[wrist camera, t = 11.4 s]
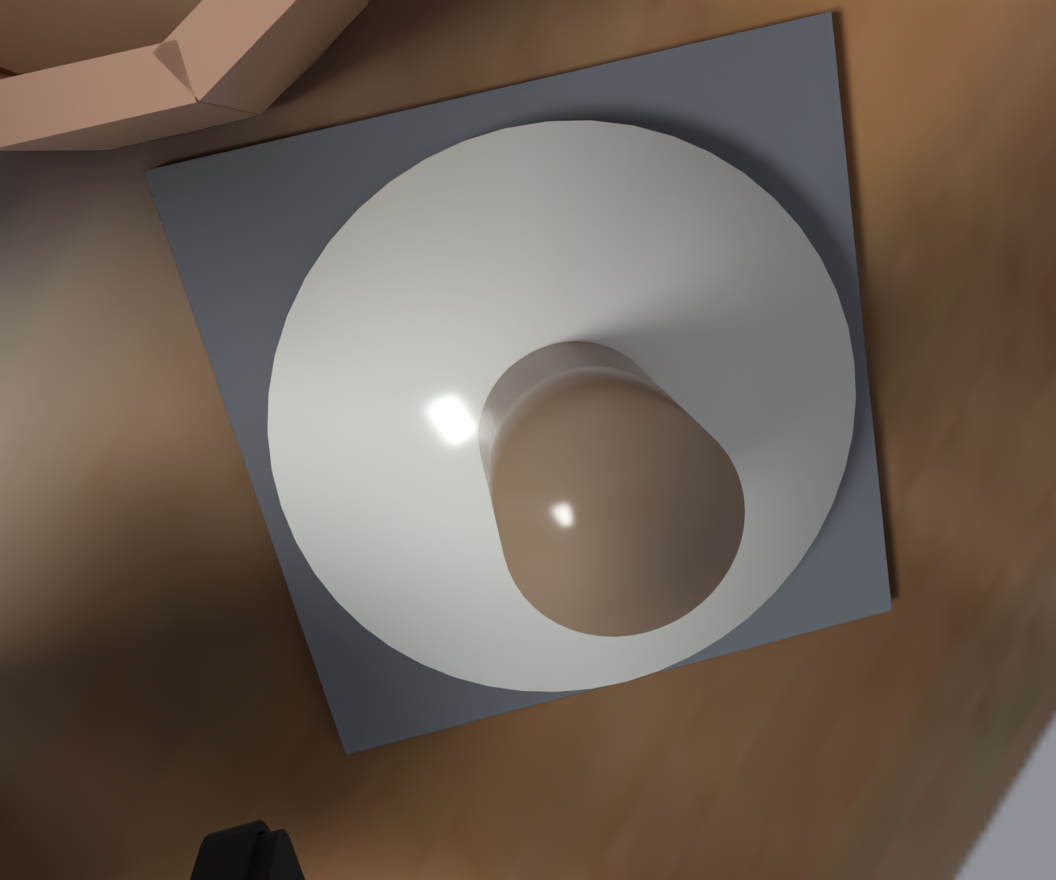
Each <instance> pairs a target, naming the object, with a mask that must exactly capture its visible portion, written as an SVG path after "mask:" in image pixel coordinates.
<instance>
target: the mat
mask: <svg viewBox="0 0 1056 880" xmlns="http://www.w3.org/2000/svg"><path fill="white" fill-rule="evenodd" d="M585 120H592V121H600V122H609V123H617V124H625V125H633V126H637V127H641V128H644V129H648V130H652V131H655V132H659V133H663V134H667V135H670V136H674V137H676V138H678V139H681V140H683V141H685V142H688V143H690V144H692V145H695V146H697V147H699V148H701V149H704V150H706V151H708V152H711V153H712V154H714V155H715V156H717V157H719V158H720V159H722V160H724V161H725V162H727V163H729V164H730V165H732V166H733V167H735V168H737V169H738V170H740V171H742V172H743V173H745V174H746V175H747V176H748V177H749V178H751V179H752V180H753V181H754V182H755V183H757V184H758V185H759V186H760V187H761V188H763V189H764V190H765V191H766V192H767V193H769V194H770V195H771V196H772V197H773V198H774V199H775V200H776V201H777V202H778V203H779V204H780V205H781V206H782V207H783V209H784V210H785V211H786V212H787V213H788V214H789V215H790V216H791V217H792V219H793V220H794V221H795V222H796V223H797V224H798V225H799V226H800V228H801V229H802V231H803V232H804V234H805V235H806V237H807V238H808V240H809V241H810V243H811V244H812V246H813V247H814V249H815V250H816V252H817V253H818V255H819V256H820V258H821V260H822V262H823V264H824V266H825V268H826V270H827V272H828V274H829V276H830V278H831V280H832V282H833V285H834V287H835V289H836V291H837V293H838V297H839V300H840V303H841V306H842V309H843V312H844V315H845V319H846V322H847V325H848V329H849V335H850V340H851V346H852V352H853V358H854V364H855V390H856V403H855V414H854V425H853V435H852V440H851V444H850V449H849V453H848V458H847V463H846V467H845V471H844V474H843V477H842V479H841V482H840V485H839V488H838V491H837V494H836V496H835V499H834V502H833V504H832V507H831V509H830V511H829V513H828V515H827V517H826V519H825V521H824V523H823V525H822V527H821V529H820V531H819V533H818V535H817V536H816V538H815V539H814V541H813V543H812V544H811V546H810V547H809V549H808V550H807V552H806V553H805V555H804V556H803V558H802V559H801V561H800V562H799V564H798V565H797V567H796V568H795V569H794V570H793V571H792V573H791V574H790V575H789V576H788V577H787V579H786V580H785V581H784V582H783V583H782V585H781V586H780V587H779V588H778V589H777V591H776V592H775V593H774V594H773V595H772V596H771V597H770V598H769V599H768V600H767V601H765V602H764V603H763V604H762V605H761V606H760V607H759V608H758V609H757V610H756V611H755V612H754V613H753V614H752V615H751V616H750V617H749V618H747V619H746V620H745V621H743V622H742V623H741V624H739V625H738V626H737V627H735V628H734V629H733V630H731V631H730V632H729V633H727V634H726V635H725V636H724V637H722V638H721V639H719V640H717V641H716V642H714V643H712V644H711V645H709V646H707V647H706V648H704V649H702V650H701V651H699V652H697V653H696V654H694V655H692V656H690V657H688V658H686V659H684V660H682V661H679V662H677V663H675V664H673V665H671V666H668V667H666V668H664V669H662V670H660V671H657V672H661V671H664V670H668V669H672V668H676V667H679V666H683V665H687V664H691V663H695V662H698V661H702V660H706V659H710V658H713V657H717V656H721V655H725V654H728V653H732V652H736V651H740V650H743V649H747V648H751V647H755V646H758V645H762V644H766V643H770V642H774V641H777V640H781V639H785V638H789V637H792V636H796V635H800V634H804V633H807V632H811V631H815V630H819V629H822V628H826V627H830V626H834V625H837V624H841V623H845V622H849V621H852V620H856V619H860V618H864V617H868V616H871V615H875V614H879V613H883V612H886V611H890V610H892V608H891V598H890V588H889V578H888V568H887V558H886V548H885V539H884V529H883V519H882V509H881V499H880V489H879V479H878V469H877V459H876V449H875V439H874V429H873V419H872V409H871V400H870V390H869V380H868V370H867V360H866V350H865V340H864V330H863V320H862V310H861V300H860V290H859V280H858V270H857V260H856V251H855V241H854V231H853V221H852V211H851V201H850V191H849V181H848V171H847V161H846V151H845V141H844V131H843V121H842V112H841V102H840V92H839V82H838V72H837V62H836V52H835V42H834V32H833V22H832V12H827V13H823V14H818V15H814V16H810V17H805V18H801V19H797V20H792V21H788V22H784V23H779V24H775V25H771V26H767V27H762V28H758V29H754V30H749V31H745V32H741V33H736V34H732V35H728V36H723V37H719V38H715V39H711V40H706V41H702V42H698V43H693V44H689V45H685V46H680V47H676V48H672V49H667V50H663V51H659V52H654V53H650V54H646V55H642V56H637V57H633V58H629V59H624V60H620V61H616V62H611V63H607V64H603V65H598V66H594V67H590V68H586V69H581V70H577V71H573V72H568V73H564V74H560V75H555V76H551V77H547V78H542V79H538V80H534V81H529V82H525V83H521V84H517V85H512V86H508V87H504V88H499V89H495V90H491V91H486V92H482V93H478V94H473V95H469V96H465V97H461V98H456V99H452V100H448V101H443V102H439V103H435V104H430V105H426V106H422V107H417V108H413V109H409V110H404V111H400V112H396V113H392V114H387V115H383V116H379V117H374V118H370V119H366V120H361V121H357V122H353V123H348V124H344V125H340V126H335V127H331V128H327V129H323V130H318V131H314V132H310V133H305V134H301V135H297V136H292V137H288V138H284V139H279V140H275V141H271V142H267V143H262V144H258V145H254V146H249V147H245V148H241V149H236V150H232V151H228V152H223V153H219V154H215V155H210V156H206V157H202V158H198V159H193V160H189V161H185V162H180V163H176V164H172V165H167V166H163V167H159V168H154V169H150V170H146V171H144V173H145V176H146V179H147V181H148V184H149V187H150V190H151V193H152V196H153V199H154V202H155V205H156V207H157V210H158V213H159V216H160V219H161V222H162V225H163V228H164V231H165V234H166V236H167V239H168V242H169V245H170V248H171V251H172V254H173V257H174V260H175V262H176V265H177V268H178V271H179V274H180V277H181V280H182V283H183V286H184V288H185V291H186V294H187V297H188V300H189V303H190V306H191V309H192V312H193V314H194V317H195V320H196V323H197V326H198V329H199V332H200V335H201V338H202V340H203V343H204V346H205V349H206V352H207V355H208V358H209V361H210V364H211V366H212V369H213V372H214V375H215V378H216V381H217V384H218V387H219V390H220V392H221V395H222V398H223V401H224V404H225V407H226V410H227V413H228V416H229V419H230V421H231V424H232V427H233V430H234V433H235V436H236V439H237V442H238V445H239V447H240V450H241V453H242V456H243V459H244V462H245V465H246V468H247V471H248V473H249V476H250V479H251V482H252V485H253V488H254V491H255V494H256V497H257V499H258V502H259V505H260V508H261V511H262V514H263V517H264V520H265V523H266V525H267V528H268V531H269V534H270V537H271V540H272V543H273V546H274V549H275V551H276V554H277V557H278V560H279V563H280V566H281V569H282V572H283V575H284V578H285V580H286V583H287V586H288V589H289V592H290V595H291V598H292V601H293V604H294V606H295V609H296V612H297V615H298V618H299V621H300V624H301V627H302V630H303V632H304V635H305V638H306V641H307V644H308V647H309V650H310V653H311V656H312V658H313V661H314V664H315V667H316V670H317V673H318V676H319V679H320V682H321V684H322V687H323V690H324V693H325V696H326V699H327V702H328V705H329V708H330V710H331V713H332V716H333V719H334V722H335V725H336V728H337V731H338V734H339V736H340V739H341V742H342V745H343V748H344V751H345V754H346V755H349V754H352V753H356V752H360V751H364V750H367V749H371V748H375V747H379V746H382V745H386V744H390V743H394V742H397V741H401V740H405V739H409V738H413V737H416V736H420V735H424V734H428V733H431V732H435V731H439V730H443V729H446V728H450V727H454V726H458V725H461V724H465V723H469V722H473V721H476V720H480V719H484V718H488V717H491V716H495V715H499V714H503V713H507V712H510V711H514V710H518V709H522V708H525V707H529V706H533V705H537V704H540V703H544V702H548V701H552V700H555V699H559V698H563V697H567V696H570V695H574V694H578V693H582V692H585V691H589V690H593V689H597V688H601V687H597V688H592V689H582V690H571V691H560V692H545V691H519V690H512V689H505V688H498V687H491V686H486V685H482V684H478V683H474V682H471V681H467V680H463V679H459V678H456V677H453V676H450V675H448V674H445V673H443V672H440V671H438V670H435V669H433V668H430V667H428V666H425V665H423V664H421V663H419V662H417V661H415V660H413V659H412V658H410V657H408V656H406V655H404V654H403V653H401V652H399V651H397V650H396V649H394V648H392V647H390V646H389V645H388V644H386V643H385V642H383V641H382V640H381V639H379V638H378V637H377V636H375V635H374V634H373V633H371V632H370V631H369V630H367V629H366V628H365V627H363V626H362V625H361V624H360V623H359V622H358V621H357V620H356V619H355V618H354V617H353V616H352V615H351V614H349V613H348V612H347V611H346V610H345V609H344V608H343V607H342V606H341V605H340V604H339V603H338V602H337V601H336V600H335V598H334V597H333V596H332V595H331V593H330V592H329V591H328V590H327V588H326V587H325V586H324V585H323V583H322V582H321V581H320V579H319V578H318V577H317V576H316V574H315V573H314V572H313V570H312V568H311V567H310V565H309V563H308V561H307V560H306V558H305V556H304V555H303V553H302V551H301V550H300V548H299V546H298V544H297V543H296V541H295V539H294V536H293V534H292V531H291V529H290V527H289V524H288V522H287V519H286V517H285V515H284V512H283V510H282V507H281V504H280V500H279V496H278V492H277V488H276V485H275V481H274V477H273V473H272V467H271V459H270V450H269V441H268V433H267V432H268V393H269V388H270V382H271V376H272V370H273V364H274V358H275V353H276V350H277V347H278V343H279V340H280V337H281V334H282V331H283V328H284V324H285V321H286V318H287V315H288V313H289V311H290V309H291V307H292V305H293V303H294V300H295V298H296V296H297V294H298V292H299V290H300V288H301V286H302V284H303V282H304V279H305V278H306V276H307V275H308V273H309V272H310V270H311V268H312V267H313V265H314V264H315V262H316V261H317V259H318V258H319V256H320V255H321V253H322V252H323V250H324V249H325V247H326V246H327V244H328V243H329V242H330V240H331V239H332V238H333V237H334V236H335V235H336V233H337V232H338V231H339V230H340V229H341V228H342V227H343V226H344V224H345V223H346V222H347V221H348V220H349V219H350V218H351V216H352V215H353V214H354V213H355V212H356V211H357V210H358V208H359V207H361V206H362V205H363V204H364V203H365V202H366V201H368V200H369V199H370V198H371V197H372V196H373V195H374V194H376V193H377V192H378V191H379V190H380V189H381V188H383V187H384V186H385V185H386V184H387V183H388V182H390V181H391V180H392V179H394V178H396V177H397V176H399V175H400V174H402V173H403V172H405V171H406V170H408V169H409V168H411V167H413V166H414V165H416V164H417V163H419V162H420V161H422V160H423V159H425V158H427V157H429V156H431V155H434V154H436V153H438V152H440V151H442V150H444V149H446V148H448V147H451V146H453V145H455V144H457V143H459V142H461V141H464V140H467V139H471V138H474V137H477V136H480V135H484V134H487V133H490V132H493V131H497V130H500V129H504V128H510V127H516V126H523V125H529V124H535V123H541V122H547V121H585ZM657 672H654V673H657ZM651 674H653V673H651ZM648 675H649V674H648ZM645 676H646V675H645ZM607 686H608V685H607ZM602 687H604V686H602Z"/></svg>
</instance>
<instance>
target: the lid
mask: <svg viewBox="0 0 1056 880" xmlns="http://www.w3.org/2000/svg"><path fill="white" fill-rule="evenodd" d="M855 403H856V390H855V364H854V358H853V352H852V346H851V340H850V335H849V329H848V325H847V322H846V319H845V315H844V312H843V309H842V306H841V303H840V300H839V297H838V293H837V291H836V289H835V287H834V285H833V282H832V280H831V278H830V276H829V274H828V272H827V270H826V268H825V266H824V264H823V262H822V260H821V258H820V256H819V255H818V253H817V252H816V250H815V249H814V247H813V246H812V244H811V243H810V241H809V240H808V238H807V237H806V235H805V234H804V232H803V231H802V229H801V228H800V226H799V225H798V224H797V223H796V222H795V221H794V220H793V219H792V217H791V216H790V215H789V214H788V213H787V212H786V211H785V210H784V209H783V207H782V206H781V205H780V204H779V203H778V202H777V201H776V200H775V199H774V198H773V197H772V196H771V195H770V194H769V193H767V192H766V191H765V190H764V189H763V188H761V187H760V186H759V185H758V184H757V183H755V182H754V181H753V180H752V179H751V178H749V177H748V176H747V175H746V174H745V173H743V172H742V171H740V170H738V169H737V168H735V167H733V166H732V165H730V164H729V163H727V162H725V161H724V160H722V159H720V158H719V157H717V156H715V155H714V154H712V153H711V152H708V151H706V150H704V149H701V148H699V147H697V146H695V145H692V144H690V143H688V142H685V141H683V140H681V139H678V138H676V137H674V136H670V135H667V134H663V133H659V132H655V131H652V130H648V129H644V128H641V127H637V126H633V125H625V124H617V123H609V122H600V121H592V120H585V121H547V122H541V123H535V124H529V125H523V126H516V127H510V128H504V129H500V130H497V131H493V132H490V133H487V134H484V135H480V136H477V137H474V138H471V139H467V140H464V141H461V142H459V143H457V144H455V145H453V146H451V147H448V148H446V149H444V150H442V151H440V152H438V153H436V154H434V155H431V156H429V157H427V158H425V159H423V160H422V161H420V162H419V163H417V164H416V165H414V166H413V167H411V168H409V169H408V170H406V171H405V172H403V173H402V174H400V175H399V176H397V177H396V178H394V179H392V180H391V181H390V182H388V183H387V184H386V185H385V186H384V187H383V188H381V189H380V190H379V191H378V192H377V193H376V194H374V195H373V196H372V197H371V198H370V199H369V200H368V201H366V202H365V203H364V204H363V205H362V206H361V207H359V208H358V210H357V211H356V212H355V213H354V214H353V215H352V216H351V218H350V219H349V220H348V221H347V222H346V223H345V224H344V226H343V227H342V228H341V229H340V230H339V231H338V232H337V233H336V235H335V236H334V237H333V238H332V239H331V240H330V242H329V243H328V244H327V246H326V247H325V249H324V250H323V252H322V253H321V255H320V256H319V258H318V259H317V261H316V262H315V264H314V265H313V267H312V268H311V270H310V272H309V273H308V275H307V276H306V278H305V279H304V282H303V284H302V286H301V288H300V290H299V292H298V294H297V296H296V298H295V300H294V303H293V305H292V307H291V309H290V311H289V313H288V315H287V318H286V321H285V324H284V328H283V331H282V334H281V337H280V340H279V343H278V347H277V350H276V353H275V358H274V364H273V370H272V376H271V382H270V388H269V393H268V432H267V433H268V441H269V450H270V459H271V467H272V473H273V477H274V481H275V485H276V488H277V492H278V496H279V500H280V504H281V507H282V510H283V512H284V515H285V517H286V519H287V522H288V524H289V527H290V529H291V531H292V534H293V536H294V539H295V541H296V543H297V544H298V546H299V548H300V550H301V551H302V553H303V555H304V556H305V558H306V560H307V561H308V563H309V565H310V567H311V568H312V570H313V572H314V573H315V574H316V576H317V577H318V578H319V579H320V581H321V582H322V583H323V585H324V586H325V587H326V588H327V590H328V591H329V592H330V593H331V595H332V596H333V597H334V598H335V600H336V601H337V602H338V603H339V604H340V605H341V606H342V607H343V608H344V609H345V610H346V611H347V612H348V613H349V614H351V615H352V616H353V617H354V618H355V619H356V620H357V621H358V622H359V623H360V624H361V625H362V626H363V627H365V628H366V629H367V630H369V631H370V632H371V633H373V634H374V635H375V636H377V637H378V638H379V639H381V640H382V641H383V642H385V643H386V644H388V645H389V646H390V647H392V648H394V649H396V650H397V651H399V652H401V653H403V654H404V655H406V656H408V657H410V658H412V659H413V660H415V661H417V662H419V663H421V664H423V665H425V666H428V667H430V668H433V669H435V670H438V671H440V672H443V673H445V674H448V675H450V676H453V677H456V678H459V679H463V680H467V681H471V682H474V683H478V684H482V685H486V686H491V687H498V688H505V689H512V690H519V691H545V692H560V691H571V690H582V689H592V688H597V687H602V686H607V685H612V684H617V683H622V682H626V681H629V680H632V679H635V678H638V677H642V676H645V675H648V674H651V673H654V672H657V671H660V670H662V669H664V668H666V667H668V666H671V665H673V664H675V663H677V662H679V661H682V660H684V659H686V658H688V657H690V656H692V655H694V654H696V653H697V652H699V651H701V650H702V649H704V648H706V647H707V646H709V645H711V644H712V643H714V642H716V641H717V640H719V639H721V638H722V637H724V636H725V635H726V634H727V633H729V632H730V631H731V630H733V629H734V628H735V627H737V626H738V625H739V624H741V623H742V622H743V621H745V620H746V619H747V618H749V617H750V616H751V615H752V614H753V613H754V612H755V611H756V610H757V609H758V608H759V607H760V606H761V605H762V604H763V603H764V602H765V601H767V600H768V599H769V598H770V597H771V596H772V595H773V594H774V593H775V592H776V591H777V589H778V588H779V587H780V586H781V585H782V583H783V582H784V581H785V580H786V579H787V577H788V576H789V575H790V574H791V573H792V571H793V570H794V569H795V568H796V567H797V565H798V564H799V562H800V561H801V559H802V558H803V556H804V555H805V553H806V552H807V550H808V549H809V547H810V546H811V544H812V543H813V541H814V539H815V538H816V536H817V535H818V533H819V531H820V529H821V527H822V525H823V523H824V521H825V519H826V517H827V515H828V513H829V511H830V509H831V507H832V504H833V502H834V499H835V496H836V494H837V491H838V488H839V485H840V482H841V479H842V477H843V474H844V471H845V467H846V463H847V458H848V453H849V449H850V444H851V440H852V435H853V425H854V414H855Z"/></svg>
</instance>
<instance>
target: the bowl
mask: <svg viewBox="0 0 1056 880" xmlns="http://www.w3.org/2000/svg"><path fill="white" fill-rule="evenodd" d="M368 2H370V0H0V151H53V150H112V149H116V148H120V147H125V146H129V145H133V144H138V143H142V142H146V141H151V140H155V139H159V138H164V137H168V136H175V135H181V134H187V133H192V132H196V131H199V130H202V129H205V128H209V127H212V126H216V125H220V124H224V123H229V122H233V121H237V120H242V119H246V118H250V117H255V116H259V114H262V113H263V112H264V111H265V110H266V109H267V108H268V107H269V106H270V105H271V104H272V103H273V102H274V101H275V100H276V99H277V98H278V97H279V96H280V95H281V94H282V93H283V91H284V90H285V89H286V88H288V87H289V86H291V85H292V84H293V83H294V82H295V81H296V80H297V79H298V78H300V77H301V76H302V75H303V74H304V73H305V72H306V71H307V70H309V69H310V68H311V67H312V66H313V65H314V64H315V63H316V62H317V61H318V60H319V59H320V58H321V57H322V55H323V54H324V53H325V52H326V51H327V49H328V48H329V47H330V46H331V45H332V44H333V42H334V41H335V40H336V39H337V38H338V36H339V35H340V34H341V33H342V31H343V30H344V29H345V28H346V27H347V26H348V25H349V24H350V23H351V22H352V21H353V20H354V19H355V18H356V17H357V16H358V15H359V13H360V12H361V11H362V10H363V9H364V8H365V7H366V6H367V5H368Z"/></svg>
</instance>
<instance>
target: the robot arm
mask: <svg viewBox="0 0 1056 880" xmlns="http://www.w3.org/2000/svg"><path fill="white" fill-rule="evenodd" d="M190 880H305V878H304V876H303V873H302V870H301V867H300V865H299V862H298V859H297V856H296V854H295V851H294V848H293V845H292V843H291V840H290V838H289V835H288V834H287V832H286V831H285V830H283V829H280V830H276V831H273V832H270V830H269V828H268V826H267V825H266V824H265V822H264V821H261V820H258V821H254V822H251V823H247V824H243V825H240V826H236V827H233V828H229V829H225V830H222V831H218V832H215V833H211V834H208V835H207V836H206V837H205V838H204V840H203V842H202V844H201V847H200V850H199V853H198V856H197V859H196V863H195V866H194V869H193V872H192V875H191V878H190Z"/></svg>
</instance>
